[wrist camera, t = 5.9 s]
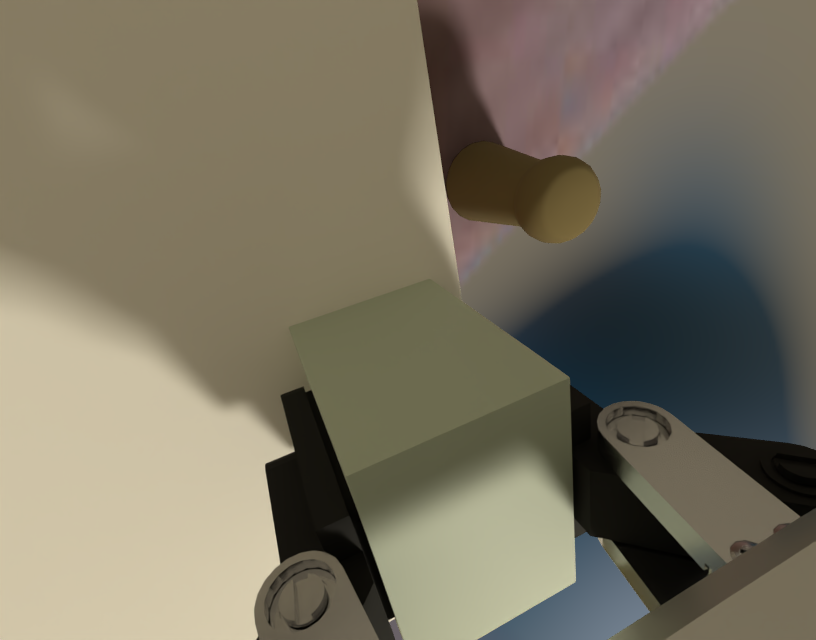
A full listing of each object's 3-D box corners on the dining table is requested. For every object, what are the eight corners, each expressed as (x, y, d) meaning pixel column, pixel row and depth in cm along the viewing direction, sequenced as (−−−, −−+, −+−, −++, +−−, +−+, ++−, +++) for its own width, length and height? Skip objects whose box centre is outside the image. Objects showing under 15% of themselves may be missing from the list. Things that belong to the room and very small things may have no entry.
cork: (445, 224, 36) (527, 261, 26) (447, 142, 33) (538, 151, 24) (510, 217, 38) (608, 250, 28) (517, 139, 35) (626, 147, 26)
